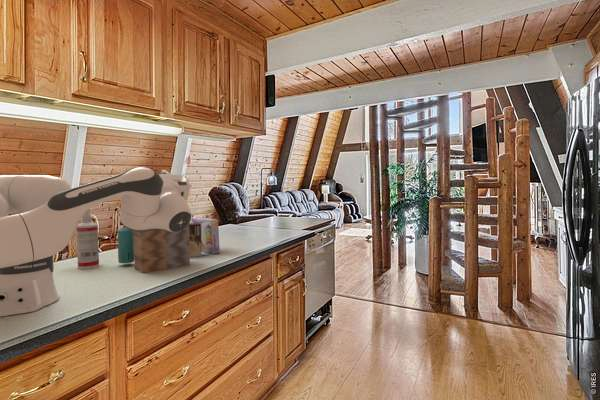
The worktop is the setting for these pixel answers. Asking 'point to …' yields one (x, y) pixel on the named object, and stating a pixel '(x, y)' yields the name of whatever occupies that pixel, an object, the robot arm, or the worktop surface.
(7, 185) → the robot arm
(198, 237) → the coffee box
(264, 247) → the worktop surface
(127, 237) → the beverage bottle
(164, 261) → the stepped stand
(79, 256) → the spray bottle
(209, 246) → the cake pan box
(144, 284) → the worktop surface
